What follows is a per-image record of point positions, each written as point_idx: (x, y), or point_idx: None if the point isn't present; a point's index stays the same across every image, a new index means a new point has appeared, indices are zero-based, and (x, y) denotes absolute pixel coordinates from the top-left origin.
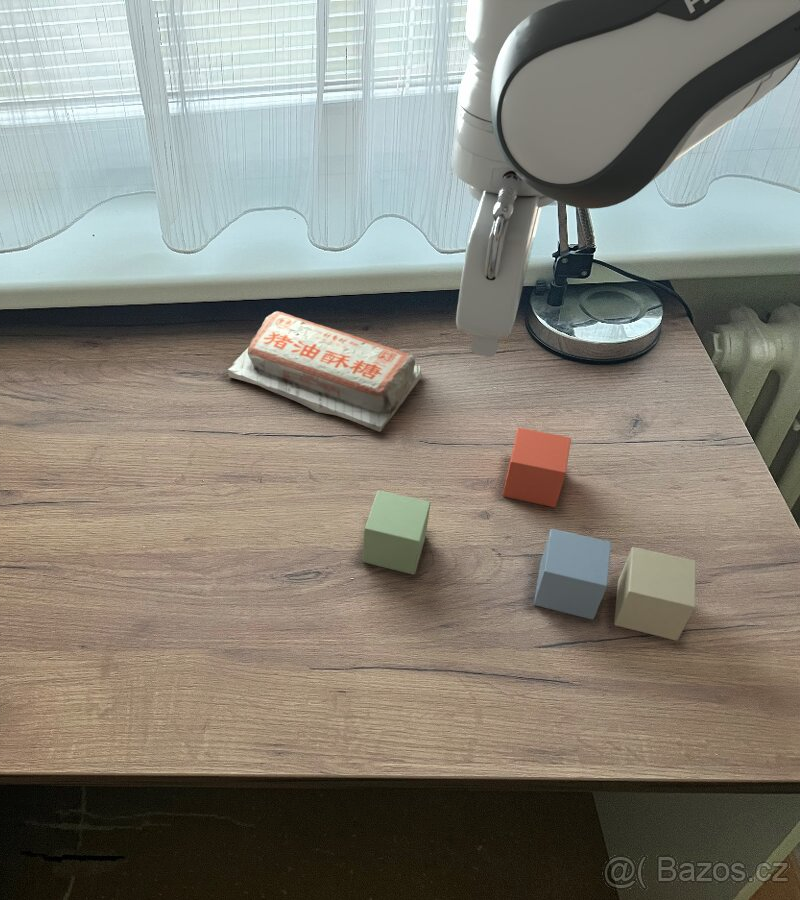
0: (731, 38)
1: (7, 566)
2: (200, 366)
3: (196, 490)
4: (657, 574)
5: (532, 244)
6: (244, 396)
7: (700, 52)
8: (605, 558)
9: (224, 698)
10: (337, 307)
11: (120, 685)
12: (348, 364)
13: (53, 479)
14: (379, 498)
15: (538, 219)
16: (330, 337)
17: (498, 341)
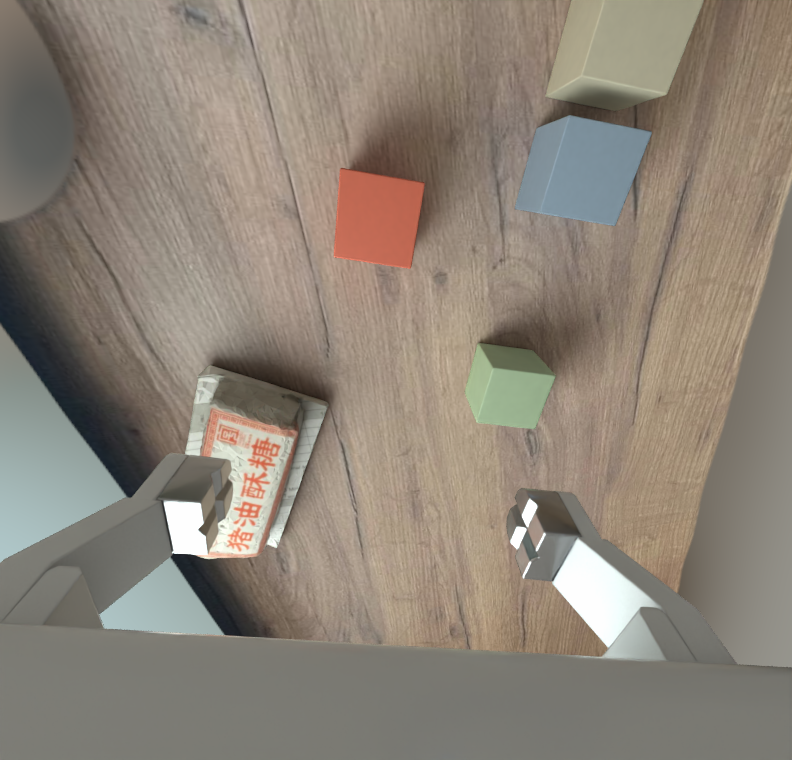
0: None
1: (522, 612)
2: (268, 559)
3: (435, 531)
4: (642, 35)
5: (343, 745)
6: (301, 521)
7: None
8: (602, 129)
9: (652, 476)
10: (106, 465)
11: (630, 535)
12: (260, 472)
13: (435, 612)
14: (489, 419)
15: (13, 725)
16: None
17: (579, 519)
